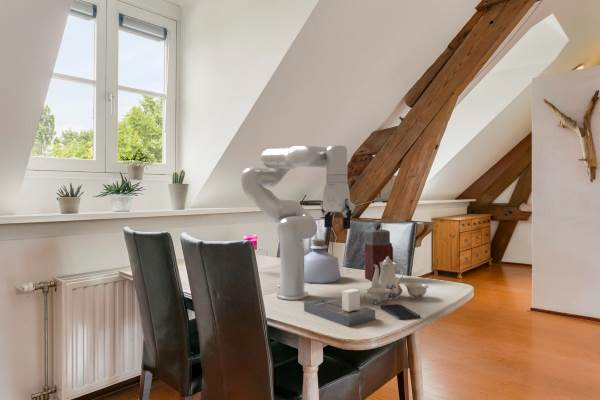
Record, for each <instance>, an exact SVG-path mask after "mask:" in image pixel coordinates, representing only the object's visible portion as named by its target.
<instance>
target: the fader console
mask: <svg viewBox="0 0 600 400" xmlns="http://www.w3.org/2000/svg"><path fill="white" fill-rule="evenodd" d="M303 312H306V313H307V314H311V315H314V316H316V317H320V318H322V319H325V320H329V321H330V322H334V323H336V324H339V325H342V326H344V327H347V328H349V327H353V326H357V325H361V324H364V323H368V322H371V321H376V310H375V309H372V308H369V307H365V306H363V305H360V309H357V310H353V311H349V312H348V311H345V310H342V299H338V298H336V297H332V296H329V297H324V298H319V299H314V300H313V299H312V300H309V301H304V302H303Z"/></svg>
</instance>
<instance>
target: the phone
mask: <svg viewBox="0 0 600 400" xmlns="http://www.w3.org/2000/svg"><path fill="white" fill-rule="evenodd" d="M380 310H382V311H384V312H386V313H388V314H389V315H390V316H392V317H393V318H395V319H397V320H398V321H408V320H409V321H410V320H419V319H421V315H420V314H418V313H416V312H414V311H413V310H411V309H409V308H407V307H406V306H404V305H402V304H398V303H397V304H386V305H384V304H382V305H380Z"/></svg>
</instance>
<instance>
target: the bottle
mask: <svg viewBox="0 0 600 400" xmlns="http://www.w3.org/2000/svg"><path fill="white" fill-rule="evenodd" d="M311 241H312V245H311V246H310V247H309V248H310V249H312V251H311V252H309V253H307V254H304V283H307V284H319V285H320V284H323V285H324V284H325V285H326V284H331V283H335V282H337V281H338V280H340V278H341V271H340V270H341V269H340V265H339V258H338V257H336V256H335V255H334V254H331V253H330V252H327V251H326V249H328V248H329V246H328V245H327V244H325V243H326V239H324V238H320V239H319V238H315V239H312V240H311Z"/></svg>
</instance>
